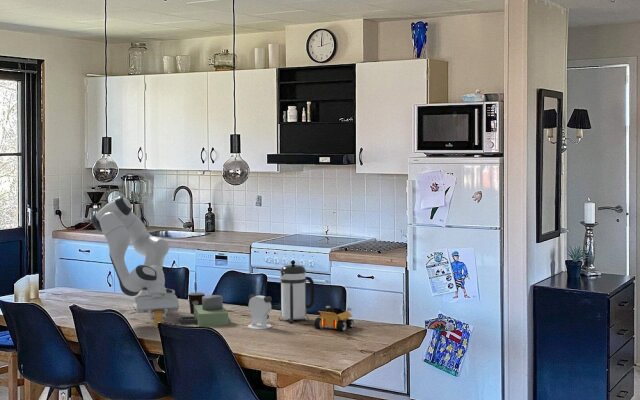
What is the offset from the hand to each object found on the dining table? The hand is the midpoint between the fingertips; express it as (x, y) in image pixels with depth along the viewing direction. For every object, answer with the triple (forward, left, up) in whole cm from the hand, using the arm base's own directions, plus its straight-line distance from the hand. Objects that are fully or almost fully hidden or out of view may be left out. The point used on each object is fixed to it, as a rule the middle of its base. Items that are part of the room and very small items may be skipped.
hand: (158, 318), depth 401 cm
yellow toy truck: (+44, +72, -5) cm, 84 cm away
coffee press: (+17, +65, -5) cm, 67 cm away
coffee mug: (-25, +30, -5) cm, 39 cm away
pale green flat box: (-3, +23, -4) cm, 24 cm away
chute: (-1, 0, -4) cm, 4 cm away
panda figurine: (+23, +43, -5) cm, 49 cm away
